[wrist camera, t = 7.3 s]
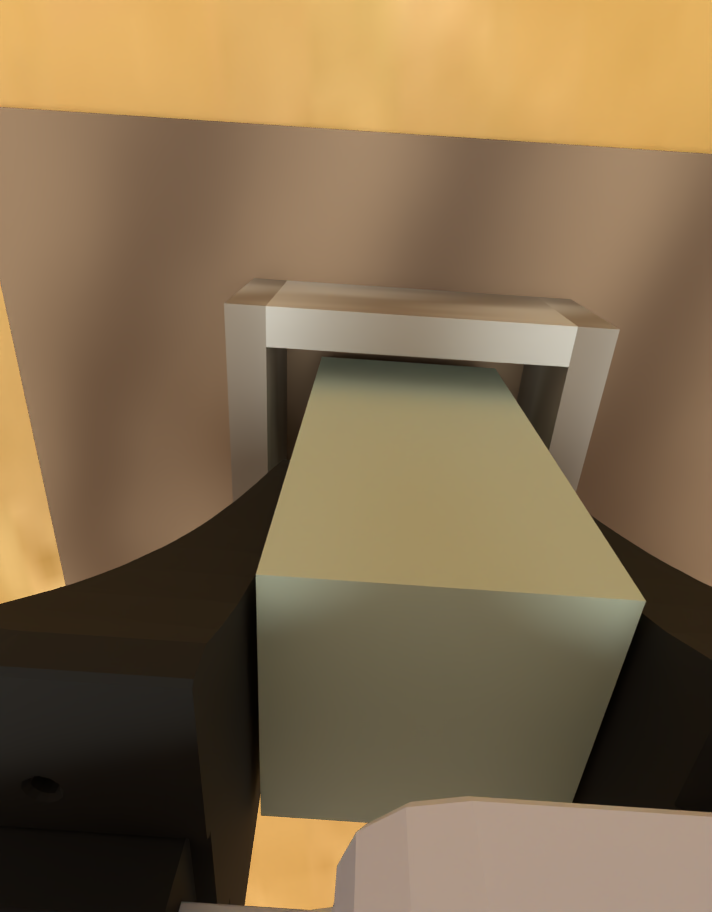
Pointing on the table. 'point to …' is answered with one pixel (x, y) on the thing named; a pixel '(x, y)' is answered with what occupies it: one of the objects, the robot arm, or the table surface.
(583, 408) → the brown socket board
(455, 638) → the rectangular block
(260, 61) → the table surface
